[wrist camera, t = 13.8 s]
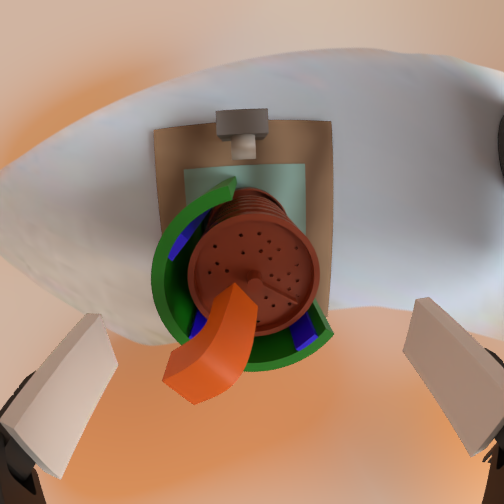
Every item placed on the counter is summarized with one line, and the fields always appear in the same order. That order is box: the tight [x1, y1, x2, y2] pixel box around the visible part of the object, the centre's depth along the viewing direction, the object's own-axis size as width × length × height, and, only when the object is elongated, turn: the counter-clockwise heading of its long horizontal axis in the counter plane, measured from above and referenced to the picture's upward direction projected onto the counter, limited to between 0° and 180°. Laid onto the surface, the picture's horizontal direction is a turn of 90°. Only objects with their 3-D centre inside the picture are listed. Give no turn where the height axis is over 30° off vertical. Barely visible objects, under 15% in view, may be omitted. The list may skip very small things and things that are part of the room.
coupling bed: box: [154, 109, 333, 317], centre depth 26 cm, size 18×22×8 cm
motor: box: [151, 176, 334, 405], centre depth 19 cm, size 10×9×20 cm
